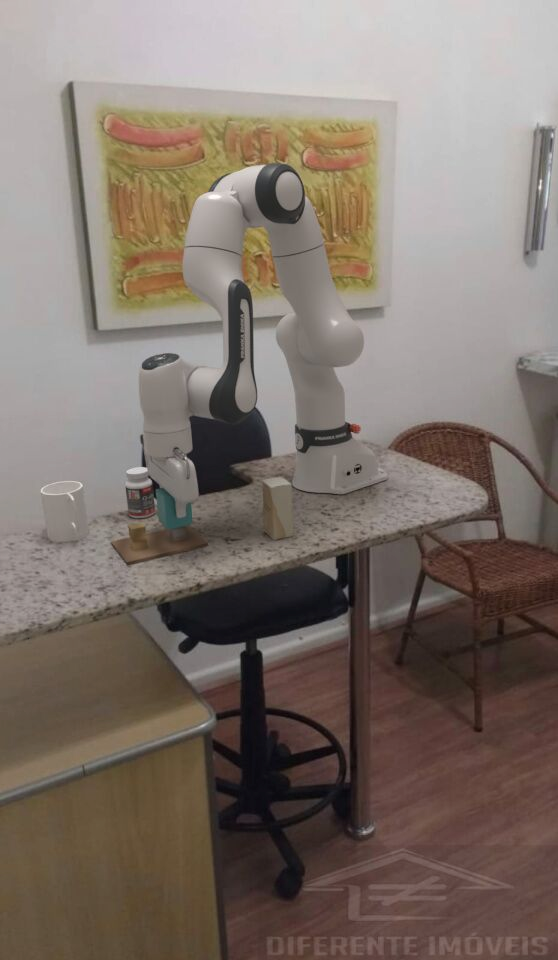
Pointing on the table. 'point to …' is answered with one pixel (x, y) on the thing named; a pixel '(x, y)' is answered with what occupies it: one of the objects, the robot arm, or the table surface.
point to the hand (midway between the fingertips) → (174, 510)
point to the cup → (65, 511)
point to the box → (277, 507)
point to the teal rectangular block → (171, 511)
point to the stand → (156, 543)
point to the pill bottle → (139, 493)
